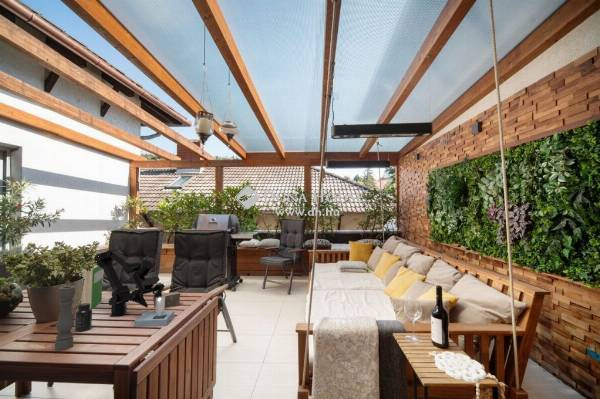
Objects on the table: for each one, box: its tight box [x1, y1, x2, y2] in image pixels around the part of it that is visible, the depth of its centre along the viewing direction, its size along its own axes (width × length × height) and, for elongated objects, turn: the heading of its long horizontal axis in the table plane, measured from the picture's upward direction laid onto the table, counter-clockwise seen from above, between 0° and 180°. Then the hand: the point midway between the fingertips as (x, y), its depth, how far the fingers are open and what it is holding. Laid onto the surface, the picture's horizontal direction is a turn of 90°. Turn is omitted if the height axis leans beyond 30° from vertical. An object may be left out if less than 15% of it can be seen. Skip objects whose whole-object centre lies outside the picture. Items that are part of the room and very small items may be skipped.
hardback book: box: [79, 263, 104, 310], centre depth 185 cm, size 18×7×24 cm, turn 20°
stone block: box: [152, 291, 181, 309], centre depth 183 cm, size 14×9×8 cm, turn 132°
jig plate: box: [134, 310, 175, 328], centre depth 158 cm, size 15×15×3 cm
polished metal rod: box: [154, 296, 166, 319], centre depth 156 cm, size 4×4×13 cm
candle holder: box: [54, 285, 76, 352], centre depth 126 cm, size 6×6×25 cm
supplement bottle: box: [73, 303, 93, 333], centre depth 146 cm, size 7×7×12 cm
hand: (154, 304), depth 157 cm, fingers open, 9 cm apart
